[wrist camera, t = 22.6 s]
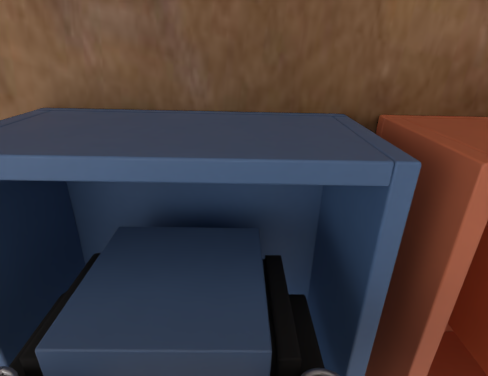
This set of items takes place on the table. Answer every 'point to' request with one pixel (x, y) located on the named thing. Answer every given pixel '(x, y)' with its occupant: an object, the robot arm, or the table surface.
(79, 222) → the blue bin
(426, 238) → the terracotta bin
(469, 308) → the terracotta block
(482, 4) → the table surface
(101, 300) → the blue block
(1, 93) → the table surface
